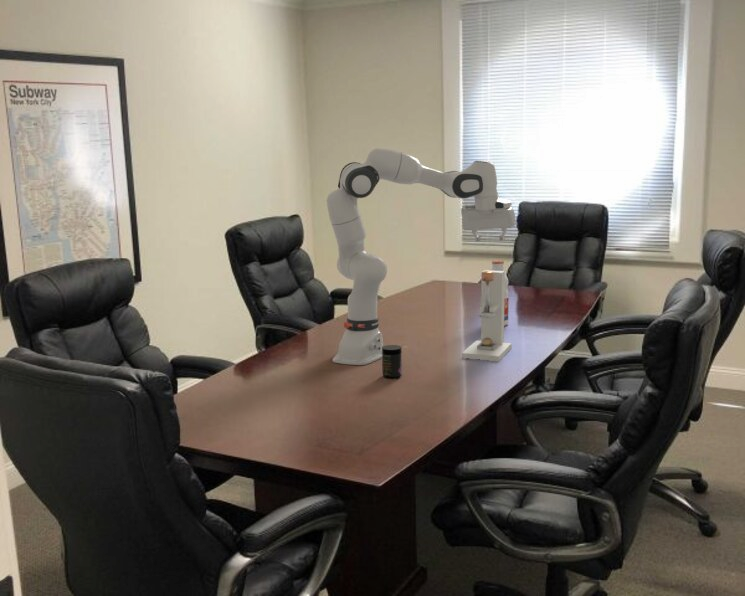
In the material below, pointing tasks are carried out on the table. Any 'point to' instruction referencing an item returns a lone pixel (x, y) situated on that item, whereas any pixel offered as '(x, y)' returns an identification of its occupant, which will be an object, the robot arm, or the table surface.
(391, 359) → the supplement container
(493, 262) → the fruit juice
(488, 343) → the walnut
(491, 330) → the press frame
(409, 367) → the table surface
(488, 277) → the plunger
